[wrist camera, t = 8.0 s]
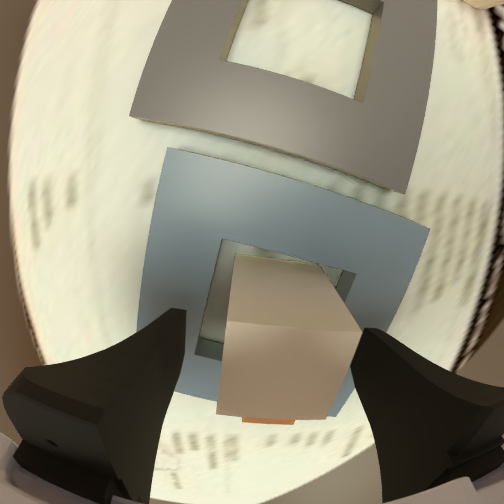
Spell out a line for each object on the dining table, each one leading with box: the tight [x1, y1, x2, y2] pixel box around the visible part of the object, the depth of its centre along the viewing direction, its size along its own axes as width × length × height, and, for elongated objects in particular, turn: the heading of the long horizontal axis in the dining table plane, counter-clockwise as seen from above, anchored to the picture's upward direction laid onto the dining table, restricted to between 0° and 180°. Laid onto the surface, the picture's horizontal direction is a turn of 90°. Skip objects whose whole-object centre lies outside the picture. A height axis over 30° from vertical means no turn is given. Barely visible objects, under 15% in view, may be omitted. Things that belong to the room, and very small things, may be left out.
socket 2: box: [137, 148, 430, 417], centre depth 14 cm, size 12×12×2 cm
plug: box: [216, 254, 362, 425], centre depth 11 cm, size 4×5×6 cm
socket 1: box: [129, 0, 437, 194], centre depth 10 cm, size 12×12×2 cm
